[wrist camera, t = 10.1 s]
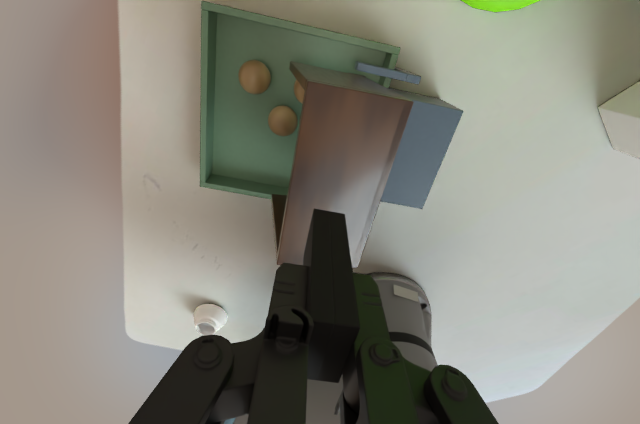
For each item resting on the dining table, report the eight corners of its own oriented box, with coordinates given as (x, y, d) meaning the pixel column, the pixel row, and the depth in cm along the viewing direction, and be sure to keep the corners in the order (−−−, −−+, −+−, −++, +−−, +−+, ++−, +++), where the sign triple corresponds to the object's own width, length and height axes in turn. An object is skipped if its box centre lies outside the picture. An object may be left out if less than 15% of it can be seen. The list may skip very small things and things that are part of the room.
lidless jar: (213, 328, 49) (234, 314, 48) (208, 344, 47) (229, 330, 45) (188, 312, 47) (209, 296, 46) (181, 327, 45) (202, 312, 43)
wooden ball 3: (310, 102, 32) (327, 110, 30) (285, 100, 30) (302, 108, 28) (315, 71, 31) (334, 77, 29) (290, 67, 29) (308, 74, 27)
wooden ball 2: (264, 136, 30) (268, 128, 33) (293, 142, 30) (296, 134, 33) (267, 105, 29) (272, 100, 31) (298, 112, 29) (300, 106, 32)
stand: (402, 198, 38) (417, 228, 32) (322, 183, 37) (322, 211, 31) (448, 79, 31) (477, 89, 25) (351, 57, 30) (358, 61, 24)
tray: (349, 201, 38) (351, 213, 35) (208, 175, 36) (199, 186, 33) (393, 46, 29) (400, 47, 27) (212, 4, 28) (201, 0, 25)
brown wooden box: (362, 268, 23) (276, 264, 21) (333, 200, 31) (270, 194, 30) (420, 102, 17) (307, 80, 15) (364, 75, 26) (288, 59, 24)
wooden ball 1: (274, 98, 30) (248, 97, 28) (257, 90, 31) (231, 89, 29) (278, 65, 28) (251, 61, 26) (260, 58, 30) (233, 54, 28)
